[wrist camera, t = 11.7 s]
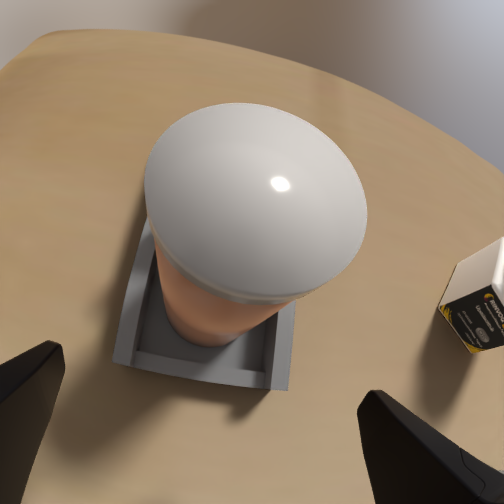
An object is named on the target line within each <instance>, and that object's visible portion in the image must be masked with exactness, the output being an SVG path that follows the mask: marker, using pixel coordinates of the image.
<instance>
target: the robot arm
mask: <svg viewBox="0 0 504 504" xmlns="http://www.w3.org/2000/svg"><path fill="white" fill-rule="evenodd" d="M64 373H65V362H64V355H63V349H62V346H61V344H59V343H56V342H53V341H50V340H47V341H45V342H43V343H41V344H39V345H37V346H35V347H33V348H32V349H30V350H28V351H26V352H24V353H22V354H20V355H18V356H16V357H14V358H12V359H10V360H9V361H7V362H5V363H3V364H1V365H0V504H21V500H22V497H23V494H24V490H25V487H26V484H27V481H28V478H29V475H30V472H31V469H32V466H33V463H34V460H35V457H36V454H37V452H38V449H39V446H40V444H41V441H42V438H43V436H44V433H45V431H46V428H47V426H48V423H49V421H50V418H51V415H52V412H53V409H54V405H55V402H56V398H57V395H58V392H59V389H60V385H61V382H62V379H63V376H64ZM357 417H358V423H359V430H360V436H361V443H362V449H363V454H364V459H365V463H366V467H367V471H368V475H369V479H370V483H371V487H372V491H373V495H374V499H375V504H504V474H503V473H501V472H499V471H497V470H496V469H494V468H492V467H490V466H488V465H487V464H485V463H483V462H482V461H480V460H478V459H477V458H475V457H474V456H472V455H471V454H469V453H468V452H466V451H465V450H463V449H462V448H459V446H458V445H456V444H455V443H453V442H452V441H451V440H449V439H448V438H446V437H445V436H444V435H442V434H441V433H440V432H438V431H437V430H435V429H434V428H433V427H431V426H430V425H428V424H427V423H426V422H424V421H423V420H422V419H420V418H419V417H418V416H416V415H415V414H413V413H412V412H411V411H409V410H408V409H407V408H405V407H404V406H403V405H401V404H400V403H399V402H397V401H396V400H395V399H393V398H392V397H391V396H389V395H388V394H387V393H385V392H384V391H382V390H370V391H369V392H368V393H367V394H366V396H365V398H364V399H363V401H362V402H361V404H360V405H359V407H358V409H357Z"/></svg>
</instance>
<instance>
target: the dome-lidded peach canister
mask: <svg viewBox="0 0 504 504" xmlns="http://www.w3.org/2000/svg"><path fill="white" fill-rule="evenodd" d="M144 188H145V200H146V208H147V216H148V220H149V224H150V229H151V231H152V234H153V236H154V241H155V249H156V256H157V263H158V270H159V276H160V283H161V289H162V295H163V300H164V306H165V312H166V315H167V319H168V321H169V323H170V325H171V326H172V328H173V329H174V331H175V332H176V333H177V334H178V335H179V336H180V337H181V338H183V339H184V340H186V341H187V342H189V343H191V344H194V345H197V346H201V347H208V348H211V347H219V346H223V345H226V344H228V343H230V342H232V341H234V340H235V339H237V338H238V337H240V336H241V335H243V334H245V333H246V332H248V331H249V330H251V329H252V328H254V327H255V326H257V325H258V324H260V323H261V322H263V321H264V320H266V319H267V318H269V317H270V316H272V315H273V314H275V313H276V312H278V311H279V310H281V309H282V308H284V307H285V306H287V305H288V304H289V303H291V302H292V301H294V300H296V299H298V298H301V297H304V296H306V295H307V294H309V293H311V292H313V291H315V290H316V289H318V288H319V287H321V286H322V285H324V284H325V283H327V282H328V281H329V280H331V279H332V278H334V277H335V276H336V275H338V274H339V273H340V272H341V271H343V270H344V269H345V268H346V267H347V265H348V264H349V263H350V262H351V261H352V260H353V258H354V257H355V255H356V253H357V252H358V250H359V248H360V246H361V243H362V241H363V239H364V234H365V230H366V224H367V206H366V200H365V195H364V191H363V188H362V185H361V182H360V180H359V178H358V175H357V173H356V171H355V169H354V168H353V166H352V165H351V163H350V161H349V160H348V159H347V157H346V156H345V155H344V153H343V152H342V151H341V150H340V149H339V147H338V146H337V145H336V144H335V143H334V142H333V141H332V140H331V139H329V138H328V137H327V136H326V135H325V134H324V133H322V132H321V131H320V130H318V129H317V128H316V127H314V126H313V125H311V124H309V123H308V122H306V121H304V120H302V119H300V118H299V117H297V116H295V115H292V114H290V113H287V112H285V111H282V110H279V109H276V108H272V107H268V106H263V105H258V104H250V103H227V104H219V105H213V106H209V107H206V108H202V109H199V110H197V111H194V112H192V113H190V114H188V115H186V116H184V117H182V118H181V119H179V120H178V121H176V122H175V123H174V124H173V125H171V126H170V127H169V128H168V129H167V130H166V131H165V132H164V133H163V134H162V135H161V136H160V138H159V139H158V141H157V142H156V143H155V145H154V147H153V149H152V151H151V153H150V155H149V158H148V161H147V165H146V168H145V177H144Z"/></svg>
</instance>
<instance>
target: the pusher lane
mask: <svg viewBox="0 0 504 504" xmlns="http://www.w3.org/2000/svg"><path fill="white" fill-rule="evenodd" d="M295 303H296V300H294V301H292V302H291V303H289V304H288V305H287V306H285V307H284V308H282V309H281V310H279V311H278V312H276V313H275V314H273V315H272V316H270V317H269V318H267V319H266V320H264V321H263V322H261V323H260V324H258V325H257V326H255V327H254V328H252V329H251V330H249V331H248V332H246V333H245V334H243V335H241V336H240V337H238V338H237V339H235V340H234V341H232V342H230V343H228V344H226V345H223V346H219V347H211V348H208V347H201V346H197V345H194V344H191V343H189V342H187V341H186V340H184V339H183V338H181V337H180V336H179V335H178V334H177V333H176V332H175V331H174V329H173V328H172V326H171V325H170V323H169V321H168V319H167V315H166V312H165V306H164V300H163V295H162V289H161V283H160V276H159V270H158V263H157V256H156V249H155V241H154V236H153V234H152V231H151V229H150V224H149V220H148V216H147V219H146V222H145V225H144V229H143V232H142V235H141V239H140V242H139V245H138V249H137V253H136V256H135V260H134V263H133V267H132V271H131V275H130V279H129V283H128V287H127V291H126V295H125V299H124V304H123V308H122V312H121V317H120V322H119V326H118V331H117V336H116V341H115V347H114V352H113V358H112V362H113V363H117V364H121V365H125V366H129V367H134V368H138V369H143V370H147V371H152V372H156V373H161V374H166V375H171V376H177V377H182V378H188V379H193V380H199V381H206V382H212V383H219V384H226V385H234V386H242V387H251V388H261V389H270V390H283V391H288V384H289V374H290V363H291V353H292V341H293V329H294V317H295Z"/></svg>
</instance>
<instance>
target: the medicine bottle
mask: <svg viewBox="0 0 504 504" xmlns="http://www.w3.org/2000/svg"><path fill="white" fill-rule="evenodd" d="M438 309H439V310H440V312H441V313H442V314H443V316H444V317H445V318H446V320H447V321H448V322H449V324H450V325H451V326H452V328H453V329H454V330H455V332H456V333H457V335H458V336H459V337H460V339H461V340H462V341H463V343H464V344H465V346H466V347H467V349H468V350H469V351H470V353H476V352H480V351H484V350H488V349H492V348H495V347H499V346H503V345H504V237H501V238H500V239H498V240H497V241H495V242H493V243H492V244H490V245H488V246H487V247H485V248H483V249H481V250H480V251H478V252H476V253H475V254H473V255H471V256H469V257H468V258H466V259H464V260H462V261H460V262H459V263H458V264H457V266H456V268H455V271H454V273H453V275H452V278H451V280H450V282H449V285H448V287H447V289H446V291H445V293H444V296H443V298H442V300H441V302H440V304H439V307H438Z"/></svg>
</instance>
